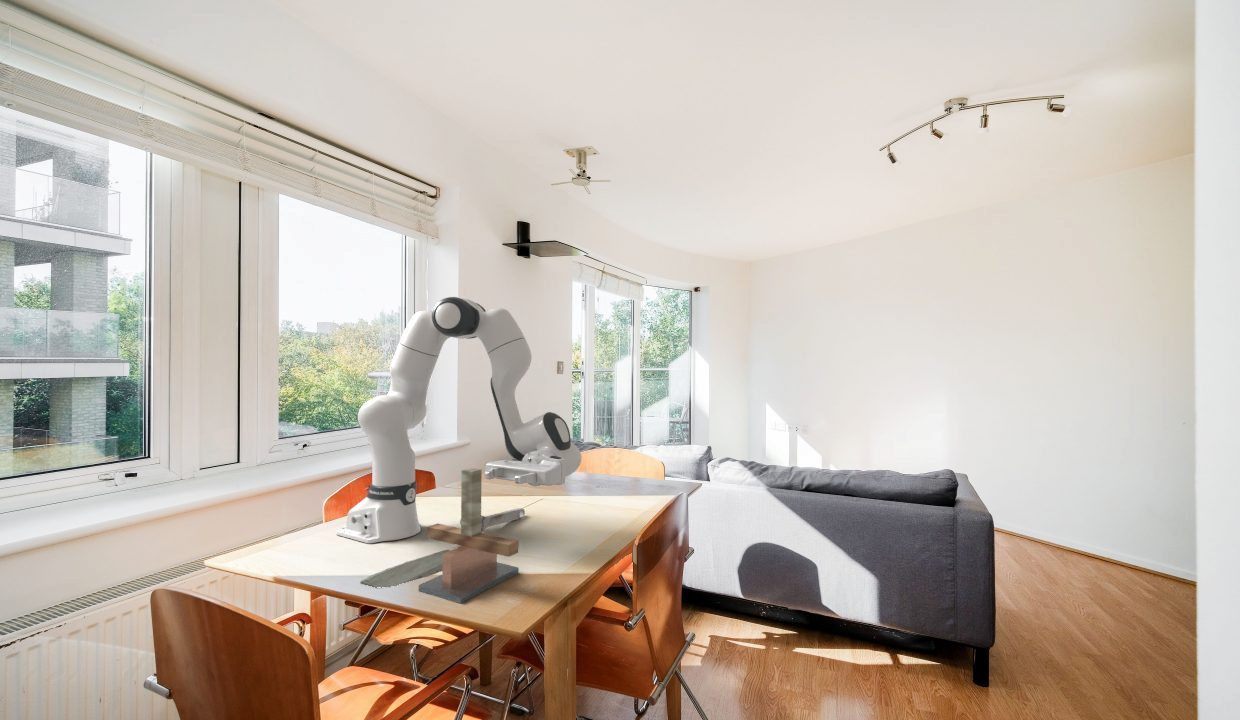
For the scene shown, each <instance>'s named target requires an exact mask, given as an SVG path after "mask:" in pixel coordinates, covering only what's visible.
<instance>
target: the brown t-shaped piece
mask: <svg viewBox="0 0 1240 720" xmlns="http://www.w3.org/2000/svg"><path fill="white" fill-rule="evenodd" d="M482 474H483V473H482V468H473V467H470V468H465V469H462V470H461V487H460V488H461V492H460V493H461V494H460V496H461V500H460V503H461V505H460V508H461V509H460V512H461V513H460V520H461V524H460V527H456V526H452V525H451V526H450V525H446V524H443V523H435V524H432V525H429V526H427V527H426V533H427V534H426V538H427V539H431V540H434V541H435V540H436V541H438V542H439V541H440V542H444V543H447V544H452V545H456V546H459V547H461V546H464V547H468V548H473V549H477V550H481V551H485V552H490V553H494V554H497V556H498V555H499V556H503V557H508V558H510V557H512V556H515V555H516V554H519V540H518V539H514V538H513V539H512V538H507V537H503V536H498V535H494V534H493V535H492V534H489V533H485V532H482V533H481V515H482Z"/></svg>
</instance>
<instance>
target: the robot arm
mask: <svg viewBox="0 0 1240 720" xmlns="http://www.w3.org/2000/svg"><path fill="white" fill-rule="evenodd" d="M449 338H455V339H460V340H461V339H462V340H463V339H468V340H470V339H476V338H478V339H479V340H480V341H481V343H482V345H483V347H484V348H485V349H484V350H485V351H486V354H487V355H488V358H489V360H490V364H491V365H490V366H491V378H490V388H491V393H492V397H493V401H494V403H495V408H496V410H497V414H498V417H499V420H500V423H501V427H502V431H503V436H504V444H505V449H506V452H507V453H508V454H509V456H510V457H512V459H501V460H500V459H499V460H494V461H488V462H487V463H486V464H485V472H484V477H483V478H484V480H493V479H496V480H503V481H511V482H514V483H515V484H518V485H523V484H527V485H530V486H533V487H540V486H545V487H549V486H550V487H551V486H555V485H556V486H562V485H564V484H565V483H566V478H567V477H569V476H571V475H572V474H573V473H575V472H577V470H578V468H579V467H580V465H581V463H582V453H581V451H580V449H579V447H578V446H576V445H575V444H574V443H573V442H572V439H571V433H570V429H569V426H568V424H567V422H566V421H565V420H564V419H563V417H561V416H560V415H559V414H556V413H554V412H552V411H547V412H545V413H543V414H541V415H538V416H537V417H534V418H533V419H531V420H529V421H527V422H525V423H523V421H522V417H521V414H520V411H519V407H518V404H517V401H516V399H515V395H516V393H515V391H516V389H517V386H518V384H519V383H520V381H521V380H522V378H524V376H525V375H526V374H527V372H528V370H529V369H530V365H531V363H532V352H531V349H530V346H529V344H528V342H527V340H526V337H525V335H524V333H523V332H522V330H521V328H520V326H519V325H518V323H517V321H516V320H515V318H514V317H513V315H512V314H511V313H510V311H509V310H507V309H505V308H502V307H496V308H491V309H488V310H486V308H484V306H482V305H481V304H479V303H477V302H475V301H473V300H471V299H469V298H460V297H457V296H449V297H445V298H442V299H440V300H439V301H437V303H436V304H435V305H434V306H433V308H432V310H426V309H425V310H420V311H417V312H415V313H414V314H413V315H412V317H411V318H410V320H409V322H408V323H407V325H406V327H405V328H404V330H403V332H402V335H401V337H400V340H399V342H398V344H397V347H396V349H395V352H394V355H393V357H392V360H391V363H390V365H389V373H390V386H389V389H388V393H387V394H383V395H377V396H375V397H372V398H371V399H369V400H368V401H366V402H365V403H363V404H362V405H361V407H360V408H359V410H358V413H357V421H358V425H359V427H360V428H361V430H362V431H363V432H364V434H366V437H367V441H368V444H369V448H370V453H371V460H372V461H371V462H372V463H371V466H372V467H371V468H372V469H371V471H372V472H371V473H372V474H371V475H372V477H371V478H372V481H371V483H370V485H366V486H364V489H363V491H365V492H366V491H367V494H366V497H365V498H363V499H361V501H359V502H358V503H357V504H356V505H355V506H353V507H351V509H350V510H349V511H348V513H347V516H346V521H345V522H346V523H345V525H343V526H342V527H340V528H339V529H337V530H336V535H337V536H341V537H344V538H346V539H347V538H348V539H352V540H355V541H358V542H362V543H366V544H375V543H379V542H388V541H397V540H401V539H406V538H410V537H413V536H415V535H417V534H419V533H420V532H421V526H420V521H419V519H418V517H419V516H418V511H417V509H418V508H417V503H416V498H417V491H418V490H417V486H418V484H417V480H416V454H415V451H414V450H413V449H412V446H411V444H410V440H409V436H408V431H409V430H411V429H414V428H415V427H417V426H418V425H419V424H421V422H423V420H424V418H426V415H427V405H426V402H427V396H428V395H427V394H428V390H429V384H430V380H431V377H432V375H433V372H434V370H435V367H436V364H437V362H438V359H439V356H440V353H441V350H442V349H443V345H444V344H445V343H446V341H447V340H448V339H449ZM514 459H515V460H514Z"/></svg>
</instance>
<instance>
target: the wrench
mask: <svg viewBox="0 0 1240 720" xmlns="http://www.w3.org/2000/svg"><path fill="white" fill-rule="evenodd" d="M525 514H526V511H525V509H524V508H521V507H518V508H514V509H510V510H505V511H502V512H501V511H500V512H498V513H493V514H490V515H485V516H484V515H482V514H481V533H484V531H485V530H486V529H487V528H489V527H492V526H497V525H501V524H504V523H508V522H512V521H516V520H520V519H519V518H521V517H523V516H524V517H525ZM524 517H523V518H524ZM521 519H522V518H521ZM459 524H460V525H461V519H460V520H459Z"/></svg>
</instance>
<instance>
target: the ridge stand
mask: <svg viewBox="0 0 1240 720" xmlns="http://www.w3.org/2000/svg"><path fill="white" fill-rule="evenodd" d="M519 569H520V568H519V566H513V565H510V564H507V563H502V562H498V554H494V553H490V552H485V551H481V550H477V549H473V548H468V547H464V546H459V547H456V548H454V549H452V550H450V551H448V552H446V553H443V554H442V571H441V572H442V573H441V574H440V575H438V576H436V577H433V578H432V579H429V580H426V581H425V582H424V581H423V582H422V583H420V584H419V585H418V591H419V592H422V593H424V594H429V595H432V596H434V597H438V598H441V599H444V600H448V601H451V602H455V603H459V604H462V603H464V602H466V601H469V599H472V598H473V597H476V596H478V595H479V594H481V593H483V592H485V591H487V590H488V589H490V588H493V587H494V586H497V585H498V584H500V583H502V582H504V581H505V580H507V579H509V578H511V577H513V576H515V575H517V574H519Z"/></svg>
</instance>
